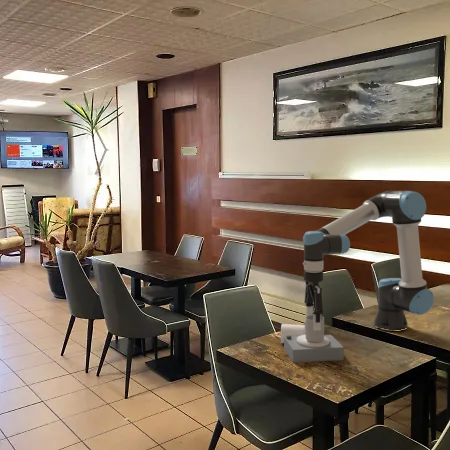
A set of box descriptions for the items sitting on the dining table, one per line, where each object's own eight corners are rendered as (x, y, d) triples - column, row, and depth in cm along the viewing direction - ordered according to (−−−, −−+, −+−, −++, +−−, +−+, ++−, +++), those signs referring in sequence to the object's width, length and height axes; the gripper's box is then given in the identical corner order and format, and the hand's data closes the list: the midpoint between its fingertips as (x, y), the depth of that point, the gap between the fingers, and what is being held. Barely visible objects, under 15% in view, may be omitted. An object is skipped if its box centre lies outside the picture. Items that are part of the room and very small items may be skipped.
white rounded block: (304, 347, 203) (304, 328, 202) (280, 345, 205) (280, 327, 204) (305, 337, 215) (305, 320, 214) (282, 336, 217) (282, 319, 216)
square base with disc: (330, 346, 203) (331, 332, 203) (343, 359, 188) (343, 344, 188) (284, 348, 201) (284, 334, 201) (293, 362, 186) (293, 347, 186)
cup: (312, 343, 188) (312, 321, 187) (298, 336, 197) (298, 314, 196) (327, 340, 191) (327, 318, 190) (313, 333, 200) (313, 312, 199)
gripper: (296, 265, 202) (296, 318, 204) (312, 276, 180) (312, 335, 182) (314, 265, 203) (314, 317, 205) (332, 276, 181) (331, 334, 183)
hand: (313, 326), depth 194 cm, fingers closed on cup, 10 cm apart
